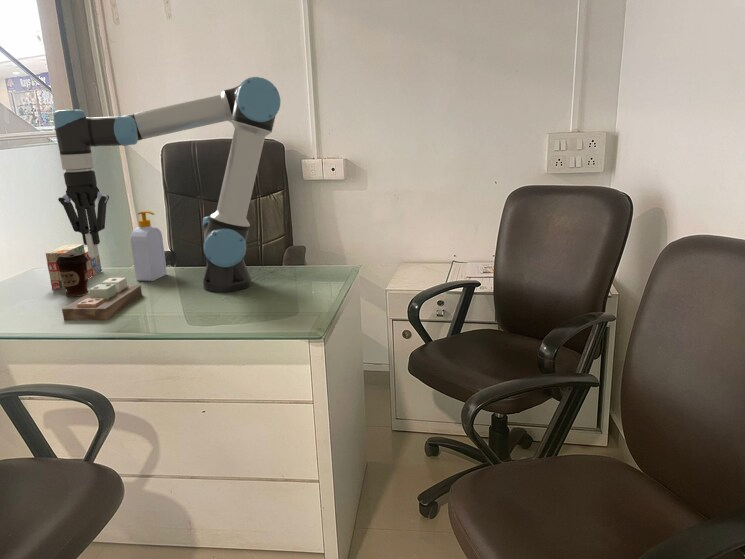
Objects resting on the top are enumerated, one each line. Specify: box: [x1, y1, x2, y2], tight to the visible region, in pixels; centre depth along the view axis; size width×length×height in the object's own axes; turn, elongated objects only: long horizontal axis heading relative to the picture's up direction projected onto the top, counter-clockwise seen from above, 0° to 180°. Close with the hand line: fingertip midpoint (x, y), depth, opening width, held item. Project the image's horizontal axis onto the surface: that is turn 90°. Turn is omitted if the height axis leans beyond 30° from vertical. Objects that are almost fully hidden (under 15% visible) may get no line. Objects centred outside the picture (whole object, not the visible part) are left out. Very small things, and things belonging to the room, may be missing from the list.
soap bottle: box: [130, 210, 168, 282], centre depth 189 cm, size 9×7×23 cm
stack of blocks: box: [45, 243, 103, 290], centre depth 189 cm, size 21×6×12 cm, turn 179°
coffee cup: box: [56, 252, 90, 298], centre depth 172 cm, size 9×8×13 cm
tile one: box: [101, 277, 128, 292], centre depth 168 cm, size 5×5×3 cm
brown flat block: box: [61, 284, 143, 321], centre depth 162 cm, size 12×22×3 cm, turn 178°
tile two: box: [88, 283, 116, 299], centre depth 161 cm, size 5×5×3 cm
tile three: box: [77, 298, 105, 307], centre depth 155 cm, size 5×5×3 cm
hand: (94, 255), depth 155 cm, fingers closed
